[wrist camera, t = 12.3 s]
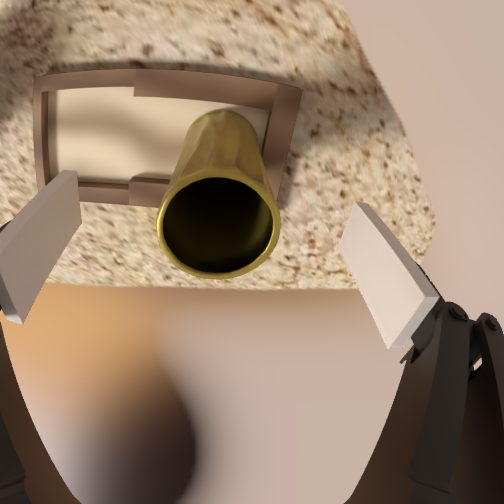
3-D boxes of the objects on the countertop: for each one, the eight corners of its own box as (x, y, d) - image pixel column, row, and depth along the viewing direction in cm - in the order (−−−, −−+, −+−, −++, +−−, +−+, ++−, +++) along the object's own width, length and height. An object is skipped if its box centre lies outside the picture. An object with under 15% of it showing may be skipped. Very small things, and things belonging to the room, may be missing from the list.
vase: (183, 175, 25) (149, 283, 13) (187, 106, 22) (142, 155, 10) (252, 180, 26) (277, 291, 14) (262, 113, 22) (306, 168, 11)
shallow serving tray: (42, 75, 18) (34, 77, 16) (298, 87, 22) (302, 89, 20) (46, 192, 24) (39, 198, 23) (269, 212, 28) (271, 220, 27)
